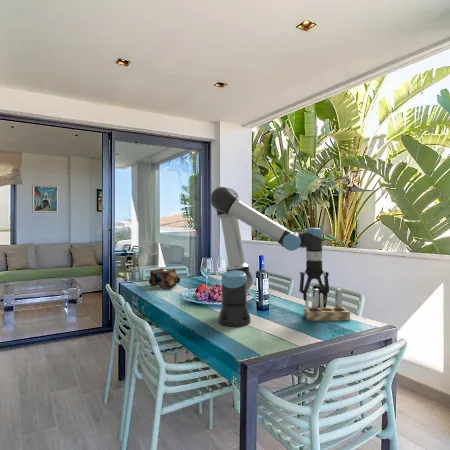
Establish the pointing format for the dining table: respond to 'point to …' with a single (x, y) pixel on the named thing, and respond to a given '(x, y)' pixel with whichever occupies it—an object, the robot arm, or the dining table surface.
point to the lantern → (164, 278)
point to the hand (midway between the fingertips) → (314, 306)
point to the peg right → (338, 299)
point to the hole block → (326, 314)
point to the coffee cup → (319, 295)
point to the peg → (315, 300)
